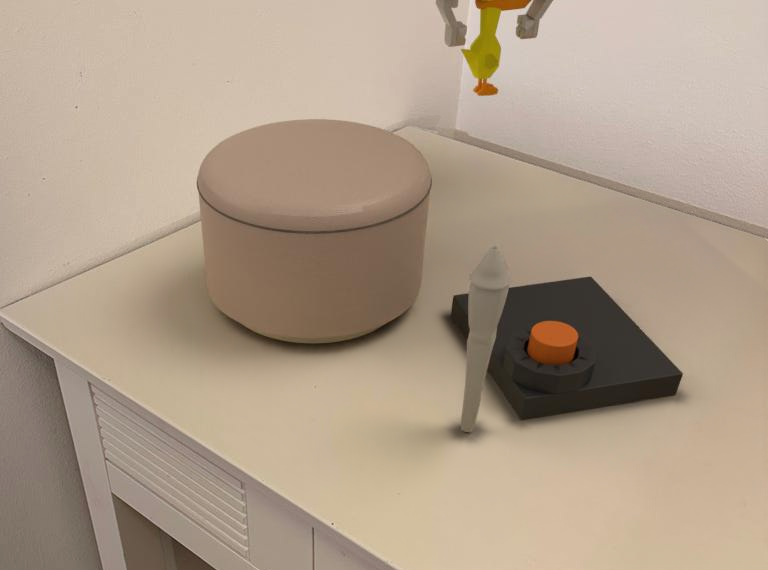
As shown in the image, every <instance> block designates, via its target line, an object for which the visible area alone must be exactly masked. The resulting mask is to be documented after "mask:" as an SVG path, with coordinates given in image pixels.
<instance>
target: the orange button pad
mask: <svg viewBox="0 0 768 570" xmlns="http://www.w3.org/2000/svg"><path fill="white" fill-rule="evenodd" d="M468 297H469V292H468V293H460V294H453V295H452V303H451V308H450V309H451V311H450V316H451V318H452V319H453V321H454V322H455V325H457V327H458V328H459V330H460V332H461V333H462V334H463V336H464V338H465V339H466V341H467V340H468V336H469V332H470V328H469V318H468ZM544 321H558V322H562V323H565V324H568V325H570V326H571V327H573V328H574V329H575V330H576V331H577V333H578V341H577V345H576V349H575V353H574V357H573V360H572V361H571V362H570V363H568V364H562V365H551V364H544V363H540V362H538V361H536V360H534V359H532V358H530V357H529V355H528V352H527V349H528V344H529V339H530V334H531V330H532V328H533V326H534V325H536V324H538V323H540V322H544ZM487 372H488V374H490V376H491V378H492V379H493V380H494V382H495V383H496V385H497V387H498V388H499V389H500V391H501V392H502V393H503V395H504V397H505V398H506V400H507V401H508V403H509V404H510V405H511V407H512V409H513V410H514V411H515V413H516V415H517V416H518V418H519V420H527V419H535V418H541V417H547V416H554V415H559V414H567V413H572V412H578V411H584V410H591V409H597V408H601V407H608V406H614V405H619V404H627V403H633V402H640V401H646V400H652V399H658V398H664V397H670V396H676V395H677V393H678V390H679V387H680V383H681V381H682V378H683V375H684V373H683V372H682V371H681V369H680V368H678V366H677V365H676V364H675V363H674V362H673V361H672V360H671V359H670V358H669V357H668V356H667V355H666V354H665V353H664V352H663V351H662V350H661V349H660V348H659V346H657V344H655V342H654V341H653V340H652V339H651V338H650V336H648V335H647V334H646V333H645V331H643V330H642V328H640V326H639V325H638V324H637V323H635V321H634V320H633V319H632V318H631V317H630V316H629V314H627V312H625V310H623V308H622V307H621V306H620V305H619V304H618V303H617V302H616V301H615V300H614V299H613V298H612V297H611V296H610V295H609V293H607V292H606V290H605V289H603V287H602V286H601V285H600V284H599V283H598V282H597V281H596V280H595V278H593V277H592V276H583V277H577V278H576V277H575V278H569V279H568V278H567V279H561V280H555V281H547V282H540V283H534V284H533V283H531V284H525V285H518V286H511V287H510V286H509V289H508V294H507V298H506V301H505V305H504V308H503V311H502V314H501V317H500V320H499V322H498V325H497V332H496V339H495V342H494V346H493V349H492V353H491V356H490V360H489V364H488V368H487Z"/></svg>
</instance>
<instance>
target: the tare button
mask: <svg viewBox="0 0 768 570" xmlns="http://www.w3.org/2000/svg"><path fill="white" fill-rule="evenodd" d="M577 341H578V333H577V331H576V330H575V329H574V328H573V327H571V326H570V325H568V324H565V323H562V322H558V321H544V322H540V323H538V324H536V325H534V326H533V328H532V330H531V334H530V339H529V344H528V349H527V352H528V355H529V357H530V358H532V359H534V360H536V361H538V362H540V363H544V364H551V365H562V364H568V363H570V362H571V361H572V360H573V357H574V353H575V349H576V345H577Z"/></svg>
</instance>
